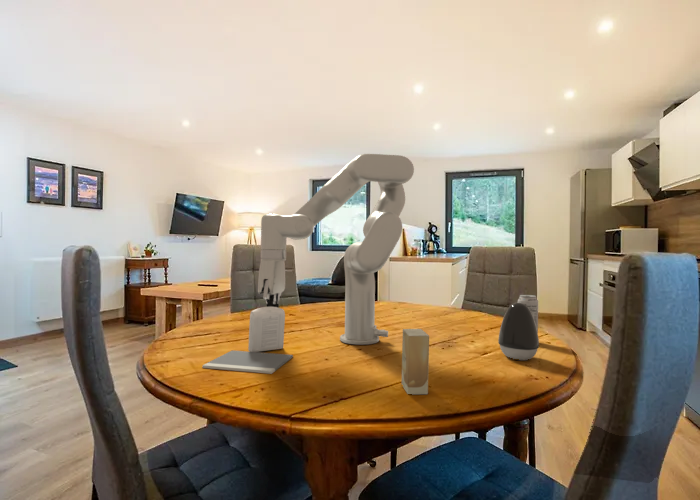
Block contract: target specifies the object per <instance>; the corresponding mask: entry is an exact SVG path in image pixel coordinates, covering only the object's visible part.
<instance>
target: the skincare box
mask: <svg viewBox="0 0 700 500" xmlns="http://www.w3.org/2000/svg"><path fill="white" fill-rule="evenodd" d="M401 346H402V350H401V351H402V353H401V357H402V358H401V385H403V386H402V387H403V389H404V390H405V392H406V394H407V395H408V394H412V395H428V394H429V365H430V363H429V357H430V356H429V355H430V335H429V334H428V333H426V331H424V330H423V329H422V328H402V345H401Z"/></svg>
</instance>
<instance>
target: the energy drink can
mask: <svg viewBox="0 0 700 500" xmlns="http://www.w3.org/2000/svg"><path fill="white" fill-rule="evenodd" d="M517 303H523V304H526V305H527V307H528V308H529V310H530V311H531V313H532V315H533V318H534V321H535V324H536V328H537V333H538V334H539V331H538V330H539V300H538V299H537V296H536V295H532V294H519V297H518V299H517Z"/></svg>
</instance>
